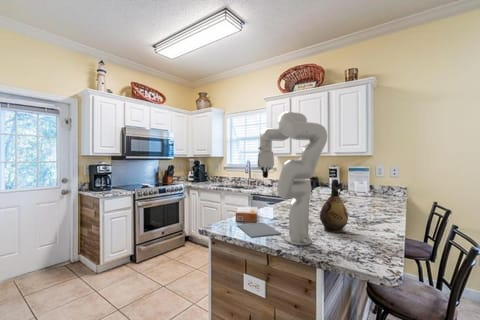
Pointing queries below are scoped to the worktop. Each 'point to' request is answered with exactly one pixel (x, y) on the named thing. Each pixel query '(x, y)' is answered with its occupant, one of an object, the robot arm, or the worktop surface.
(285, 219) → the worktop surface
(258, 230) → the mat
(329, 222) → the ceramic jug
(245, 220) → the cracker box
